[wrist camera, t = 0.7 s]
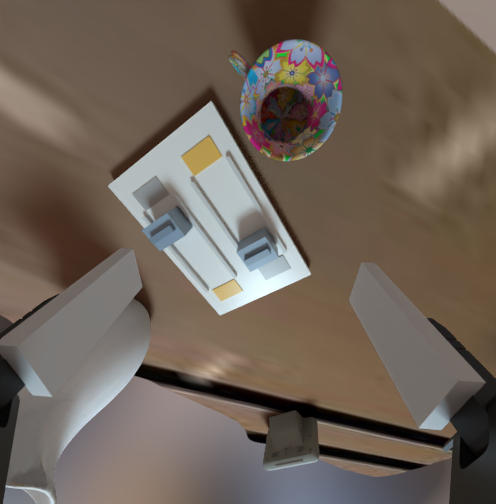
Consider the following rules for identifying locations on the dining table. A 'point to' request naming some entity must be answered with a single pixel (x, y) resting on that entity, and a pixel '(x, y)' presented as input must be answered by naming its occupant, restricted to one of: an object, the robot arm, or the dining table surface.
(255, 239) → the tab
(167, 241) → the tab
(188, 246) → the switch board
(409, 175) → the dining table surface
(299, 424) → the digital clock
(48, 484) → the pitcher
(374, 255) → the dining table surface
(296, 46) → the mug
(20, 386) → the robot arm
